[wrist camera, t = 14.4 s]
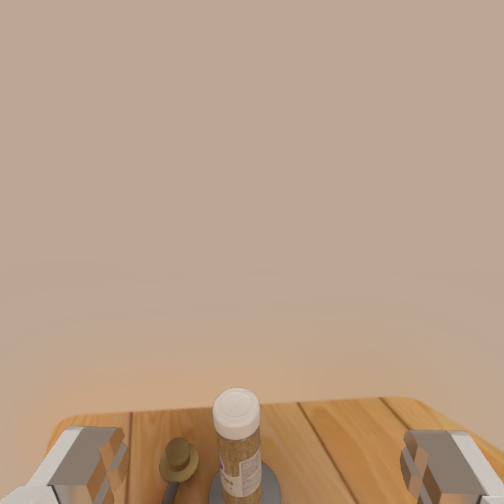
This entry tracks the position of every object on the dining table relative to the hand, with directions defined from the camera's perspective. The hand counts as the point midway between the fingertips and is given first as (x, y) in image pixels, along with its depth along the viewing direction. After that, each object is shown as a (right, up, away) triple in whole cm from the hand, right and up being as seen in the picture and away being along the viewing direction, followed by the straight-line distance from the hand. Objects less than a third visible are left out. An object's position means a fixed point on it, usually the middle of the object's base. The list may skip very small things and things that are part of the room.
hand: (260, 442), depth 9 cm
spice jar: (-1, -22, +25) cm, 33 cm away
